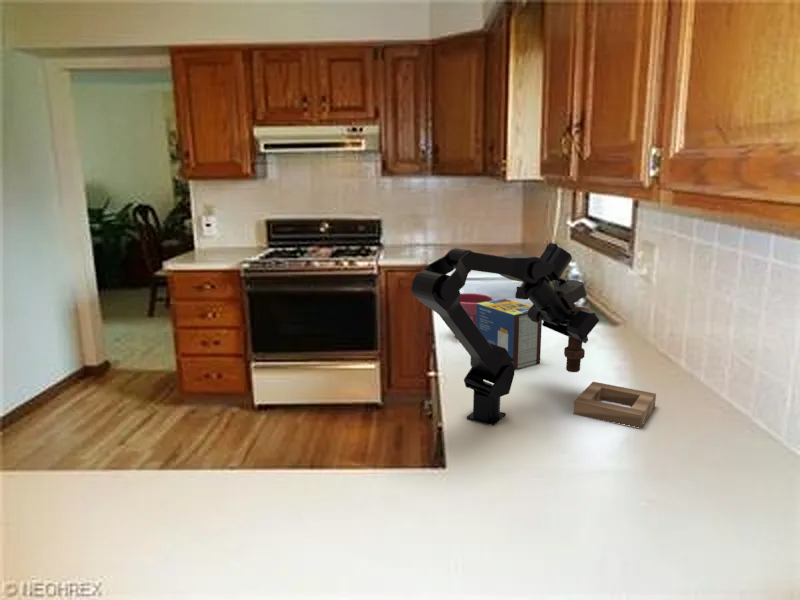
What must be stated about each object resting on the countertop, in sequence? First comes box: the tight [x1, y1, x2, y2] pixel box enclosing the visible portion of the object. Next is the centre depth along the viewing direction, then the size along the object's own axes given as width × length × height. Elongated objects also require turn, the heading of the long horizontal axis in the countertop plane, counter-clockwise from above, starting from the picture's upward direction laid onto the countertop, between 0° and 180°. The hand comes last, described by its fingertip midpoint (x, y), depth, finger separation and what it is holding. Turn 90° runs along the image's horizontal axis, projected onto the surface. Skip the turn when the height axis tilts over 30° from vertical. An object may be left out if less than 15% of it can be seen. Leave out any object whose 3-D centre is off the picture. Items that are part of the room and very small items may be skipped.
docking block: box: [572, 381, 657, 429], centre depth 133 cm, size 14×14×3 cm
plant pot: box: [454, 292, 495, 340], centre depth 187 cm, size 14×14×13 cm
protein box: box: [476, 298, 543, 371], centre depth 166 cm, size 10×15×16 cm
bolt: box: [563, 306, 591, 373], centre depth 140 cm, size 6×5×15 cm
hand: (580, 339), depth 141 cm, fingers closed on bolt, 4 cm apart
